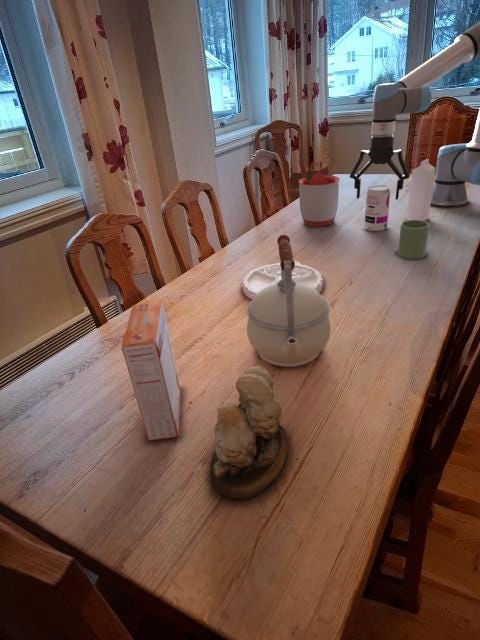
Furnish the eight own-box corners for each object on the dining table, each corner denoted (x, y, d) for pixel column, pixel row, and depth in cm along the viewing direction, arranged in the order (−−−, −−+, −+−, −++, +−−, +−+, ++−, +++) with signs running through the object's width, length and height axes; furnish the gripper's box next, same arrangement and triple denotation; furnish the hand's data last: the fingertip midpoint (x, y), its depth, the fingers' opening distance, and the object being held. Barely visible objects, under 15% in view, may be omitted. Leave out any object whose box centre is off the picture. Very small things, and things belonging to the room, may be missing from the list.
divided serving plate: (231, 300, 121) (230, 293, 120) (260, 263, 142) (259, 256, 141) (313, 308, 113) (313, 300, 112) (331, 267, 135) (331, 260, 133)
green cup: (408, 247, 143) (412, 218, 138) (430, 254, 137) (435, 223, 132) (392, 254, 139) (395, 224, 134) (414, 261, 133) (418, 230, 128)
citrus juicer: (324, 213, 183) (325, 164, 173) (345, 224, 169) (347, 171, 159) (291, 219, 180) (289, 170, 170) (309, 231, 165) (309, 178, 155)
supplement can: (387, 224, 164) (390, 185, 157) (386, 232, 157) (389, 190, 150) (365, 224, 167) (367, 185, 159) (363, 231, 160) (365, 190, 152)
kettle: (249, 326, 108) (240, 231, 95) (322, 322, 107) (323, 225, 94) (248, 391, 86) (236, 278, 74) (340, 386, 85) (344, 271, 73)
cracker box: (152, 392, 89) (131, 303, 78) (181, 388, 89) (164, 299, 78) (145, 442, 76) (119, 345, 66) (179, 438, 77) (158, 340, 66)
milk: (428, 218, 166) (437, 159, 155) (420, 223, 163) (429, 162, 152) (413, 216, 170) (421, 157, 159) (405, 220, 167) (413, 161, 156)
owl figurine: (240, 413, 81) (231, 337, 72) (300, 427, 76) (299, 348, 68) (195, 489, 67) (177, 406, 58) (266, 512, 62) (258, 426, 54)
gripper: (343, 137, 147) (340, 199, 158) (421, 135, 138) (413, 201, 149) (347, 134, 153) (344, 194, 164) (422, 132, 144) (414, 196, 155)
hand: (377, 198), depth 156 cm, fingers open, 13 cm apart
